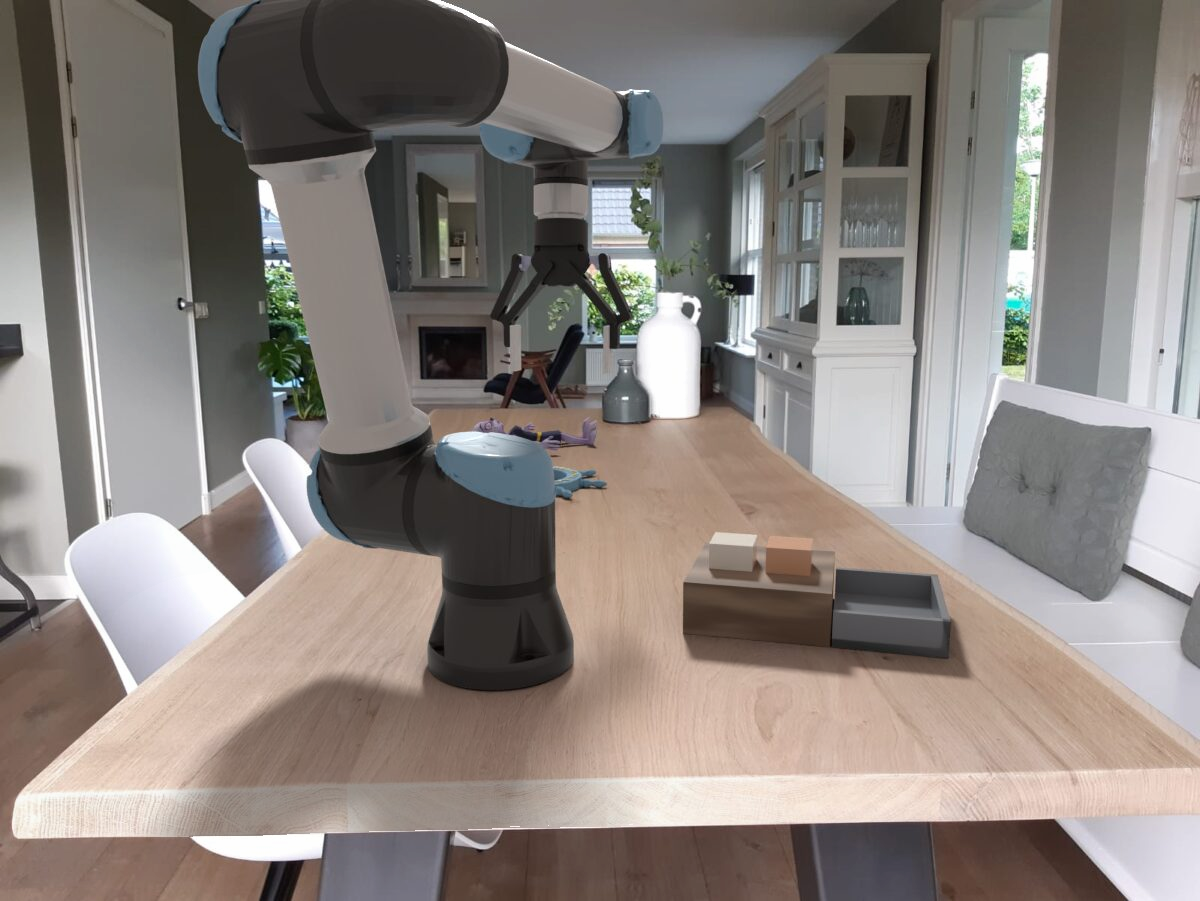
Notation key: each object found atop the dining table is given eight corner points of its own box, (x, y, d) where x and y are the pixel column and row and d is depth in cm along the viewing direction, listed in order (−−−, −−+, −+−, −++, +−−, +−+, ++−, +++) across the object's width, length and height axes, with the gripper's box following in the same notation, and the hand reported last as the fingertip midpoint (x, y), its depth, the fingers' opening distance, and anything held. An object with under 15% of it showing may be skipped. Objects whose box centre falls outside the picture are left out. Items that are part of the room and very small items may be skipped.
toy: (609, 425, 211) (480, 417, 201) (605, 465, 212) (476, 459, 203) (577, 410, 235) (461, 402, 226) (574, 446, 237) (458, 439, 227)
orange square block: (810, 576, 103) (811, 550, 103) (765, 572, 105) (766, 547, 104) (812, 563, 108) (813, 538, 107) (769, 560, 109) (769, 535, 109)
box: (948, 658, 95) (950, 621, 95) (831, 647, 98) (833, 611, 98) (935, 606, 111) (937, 574, 110) (834, 598, 114) (835, 567, 113)
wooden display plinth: (829, 647, 99) (831, 593, 97) (682, 633, 103) (683, 581, 102) (833, 598, 114) (835, 551, 113) (704, 587, 118) (705, 542, 117)
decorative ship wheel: (482, 454, 195) (621, 458, 189) (482, 468, 196) (621, 474, 190) (428, 484, 166) (590, 490, 160) (429, 501, 167) (590, 508, 161)
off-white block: (752, 571, 105) (752, 546, 104) (708, 568, 106) (709, 543, 106) (756, 559, 110) (757, 534, 109) (714, 556, 111) (715, 532, 110)
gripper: (654, 219, 128) (652, 371, 131) (485, 222, 134) (487, 367, 137) (644, 214, 121) (642, 375, 124) (466, 217, 126) (469, 371, 130)
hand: (561, 371), depth 131 cm, fingers open, 13 cm apart
